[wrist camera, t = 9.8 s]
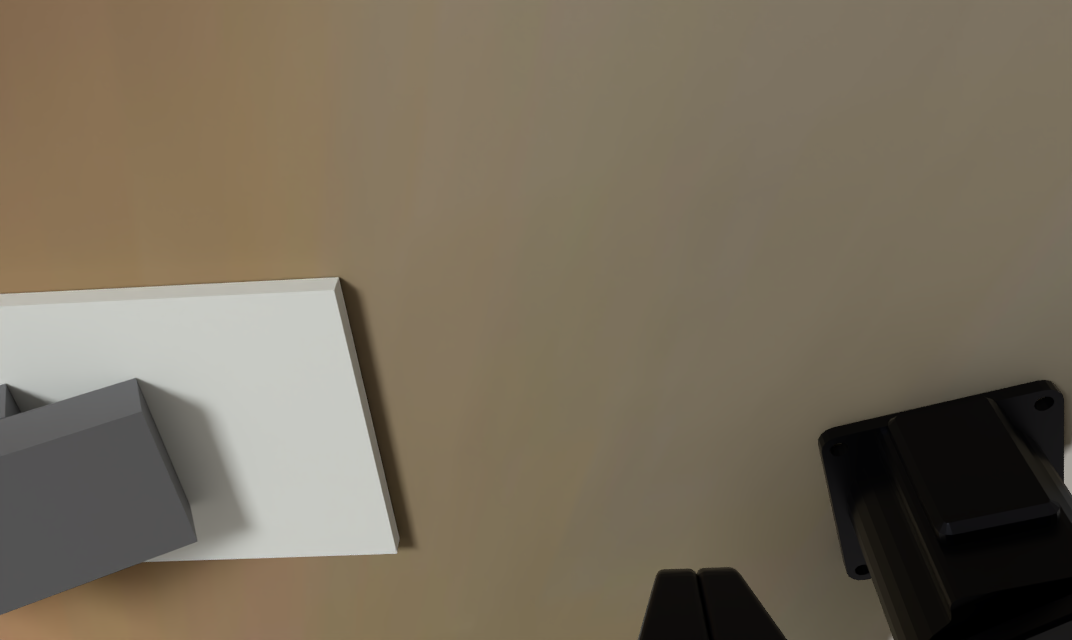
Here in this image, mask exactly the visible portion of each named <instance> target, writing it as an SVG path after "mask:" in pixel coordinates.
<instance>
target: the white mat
mask: <svg viewBox="0 0 1072 640" xmlns="http://www.w3.org/2000/svg"><path fill="white" fill-rule="evenodd" d="M133 378H136V379H137V381H138V383H139V386H140V388H141V391H142V393H143V395H144V398H145V400H146V402H147V405H148V407H149V409H150V412H151V414H152V417H153V419H154V421H155V424H156V426H157V428H158V431H159V433H160V435H161V438H162V440H163V443H164V445H165V447H166V450H167V452H168V454H169V457H170V459H171V461H172V464H173V466H174V469H175V471H176V473H177V476H178V478H179V480H180V483H181V485H182V487H183V490H184V492H185V495H186V497H187V499H188V502H189V504H190V507H191V512H192V517H193V522H194V526H195V531H196V536H197V541H198V542H195V543H192V544H190V545H187V546H184V547H182V548H179V549H176V550H174V551H171V552H168V553H165V554H163V555H160V556H157V557H155V558H152V559H149V560H147V561H144V562H159V561H189V560H218V559H248V558H278V557H308V556H338V555H367V554H397V550H398V545H399V539H400V538H399V534H398V530H397V525H396V521H395V517H394V513H393V508H392V504H391V500H390V495H389V491H388V487H387V482H386V478H385V474H384V470H383V465H382V461H381V457H380V452H379V448H378V444H377V439H376V435H375V431H374V427H373V422H372V418H371V414H370V409H369V405H368V401H367V397H366V392H365V388H364V384H363V379H362V375H361V371H360V366H359V362H358V358H357V354H356V349H355V345H354V341H353V336H352V332H351V328H350V323H349V319H348V315H347V311H346V306H345V302H344V298H343V293H342V289H341V285H340V281H339V277H334V278H314V279H294V280H274V281H254V282H234V283H214V284H194V285H174V286H154V287H134V288H114V289H94V290H74V291H54V292H34V293H14V294H0V385H2V384H6V385H7V386H8V388H9V390H10V392H11V394H12V396H13V398H14V400H15V401H16V403H17V405H18V407H19V409H20V411H21V413H23V412H26V411H29V410H33V409H36V408H39V407H42V406H46V405H49V404H52V403H55V402H59V401H62V400H65V399H68V398H72V397H75V396H78V395H81V394H85V393H88V392H91V391H94V390H98V389H101V388H104V387H107V386H111V385H114V384H117V383H120V382H124V381H127V380H130V379H133Z"/></svg>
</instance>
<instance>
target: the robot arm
mask: <svg viewBox="0 0 1072 640" xmlns="http://www.w3.org/2000/svg"><path fill="white" fill-rule="evenodd" d="M1042 397H1044V398H1043V399H1042V400H1039V401H1037V400H1038V399H1040V398H1042ZM837 443H842V444H841V445H839V446H833V445H835V444H837ZM818 446H819V450H820V455H821V460H822V464H823V469H824V474H825V478H826V483H827V488H828V492H829V497H830V502H831V506H832V511H833V515H834V520H835V525H836V529H837V534H838V539H839V543H840V548H841V553H842V557H843V562H844V565H845V568H846V571H847V574H848V575H849V577H851V578H852V579H856V580H866V579H871V578H872V581H873V583H874V586H875V589H876V592H877V594H878V597H879V600H880V603H881V605H882V608H883V611H884V614H885V616H886V619H887V622H888V625H889V627H890V630H891V633H892V636H893V638H894V640H1072V495H1071V493H1070V492H1069V490H1068V489H1067V487H1066V486H1065V484H1064V399H1063V395H1062V394H1061V392H1060V391H1059V389H1058V388H1057V387H1056V385H1055V384H1053V383H1052V382H1050V381H1046V380H1042V381H1035V382H1030V383H1026V384H1022V385H1017V386H1013V387H1008V388H1004V389H1000V390H995V391H991V392H987V393H982V394H978V395H974V396H969V397H965V398H960V399H956V400H952V401H947V402H943V403H939V404H934V405H930V406H926V407H921V408H917V409H912V410H908V411H904V412H899V413H895V414H891V415H886V416H882V417H878V418H873V419H869V420H864V421H860V422H856V423H851V424H847V425H843V426H838V427H834V428H831V429H828V430H826V431H825V432H824V433H822V434H821V436H820V437H819V439H818ZM638 640H787V639H786V638H785V636H784V635H783V633H782V632H781V631H780V629H779V628H778V626H777V625H776V624H775V622H774V621H773V619H772V618H771V617H770V615H769V614H768V612H767V611H766V610H765V608H764V607H763V605H762V604H761V603H760V601H759V600H758V598H757V597H756V596H755V594H754V593H753V591H752V590H751V589H750V587H749V586H748V584H747V583H746V582H745V580H744V579H743V577H742V576H741V575H740V573H739V572H738V571H737V570H735V569H733V568H730V567H720V568H702V569H700V570H698V572H697V574H696V573H695V571H693V570H692V569H663V570H660V571H659V572H658V573H657V575H656V578H655V581H654V584H653V588H652V592H651V595H650V599H649V602H648V606H647V609H646V613H645V616H644V620H643V623H642V627H641V631H640V634H639V638H638Z"/></svg>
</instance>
